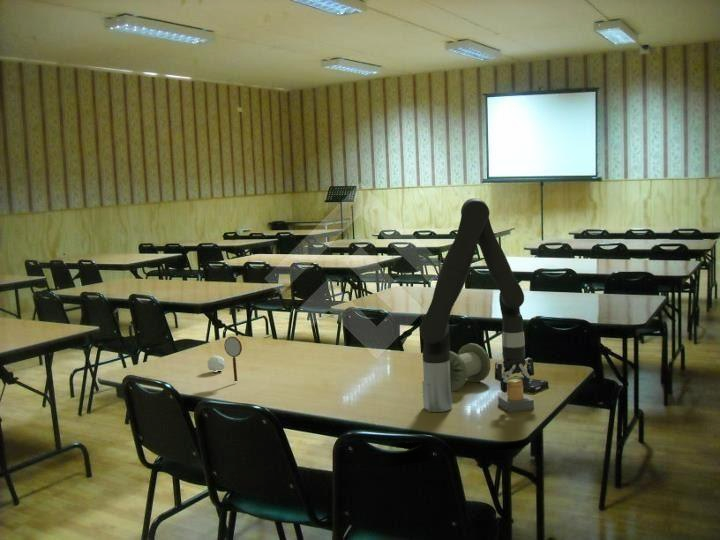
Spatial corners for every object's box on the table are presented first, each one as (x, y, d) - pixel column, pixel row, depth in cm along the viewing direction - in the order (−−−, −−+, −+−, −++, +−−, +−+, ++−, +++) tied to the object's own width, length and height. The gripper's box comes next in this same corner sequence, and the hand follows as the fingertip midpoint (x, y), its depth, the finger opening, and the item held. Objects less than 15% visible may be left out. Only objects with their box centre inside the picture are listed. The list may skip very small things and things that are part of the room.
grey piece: (509, 411, 252) (508, 391, 251) (498, 404, 261) (497, 385, 260) (533, 408, 254) (533, 388, 253) (522, 401, 263) (521, 382, 262)
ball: (220, 378, 333) (223, 366, 328) (203, 373, 333) (205, 361, 328) (226, 366, 339) (228, 354, 334) (209, 361, 339) (211, 349, 334)
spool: (460, 378, 299) (458, 341, 297) (491, 383, 288) (489, 345, 286) (433, 387, 287) (431, 349, 286) (465, 393, 277) (463, 354, 275)
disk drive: (549, 388, 279) (515, 382, 289) (548, 381, 278) (515, 375, 289) (534, 395, 271) (499, 388, 282) (533, 387, 271) (499, 381, 282)
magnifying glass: (245, 383, 311) (241, 336, 308) (243, 384, 309) (239, 337, 307) (229, 382, 315) (225, 335, 313) (226, 383, 313) (222, 336, 311)
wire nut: (520, 400, 253) (519, 383, 253) (506, 399, 256) (505, 382, 255) (524, 396, 258) (524, 379, 257) (511, 395, 260) (510, 378, 260)
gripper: (501, 348, 249) (503, 396, 251) (537, 343, 254) (539, 389, 256) (489, 344, 256) (491, 390, 258) (525, 339, 261) (526, 384, 263)
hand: (515, 390), depth 257 cm, fingers open, 8 cm apart
